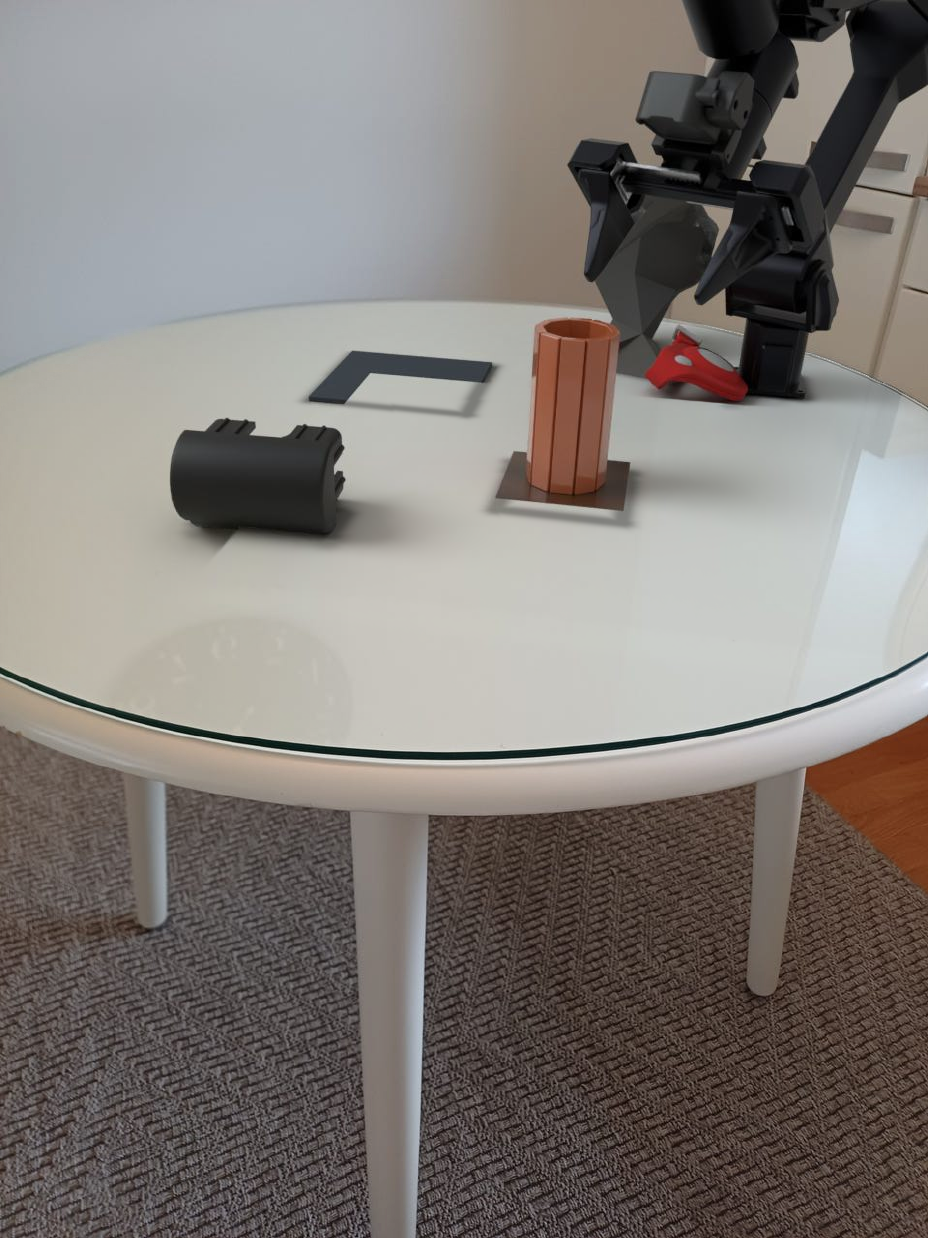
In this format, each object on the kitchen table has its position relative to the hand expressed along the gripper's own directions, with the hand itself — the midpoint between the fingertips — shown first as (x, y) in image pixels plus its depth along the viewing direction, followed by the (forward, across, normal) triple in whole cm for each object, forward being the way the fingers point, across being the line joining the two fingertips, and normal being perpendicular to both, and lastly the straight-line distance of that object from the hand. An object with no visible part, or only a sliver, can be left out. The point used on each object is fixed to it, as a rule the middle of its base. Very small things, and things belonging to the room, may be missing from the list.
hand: (640, 289), depth 78 cm
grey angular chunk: (-8, -15, +28) cm, 33 cm away
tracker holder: (-4, -5, +24) cm, 25 cm away
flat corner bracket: (+8, -25, +11) cm, 28 cm away
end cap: (+28, -11, -10) cm, 32 cm away
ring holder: (+15, 0, +3) cm, 15 cm away
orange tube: (+14, 0, +3) cm, 15 cm away
